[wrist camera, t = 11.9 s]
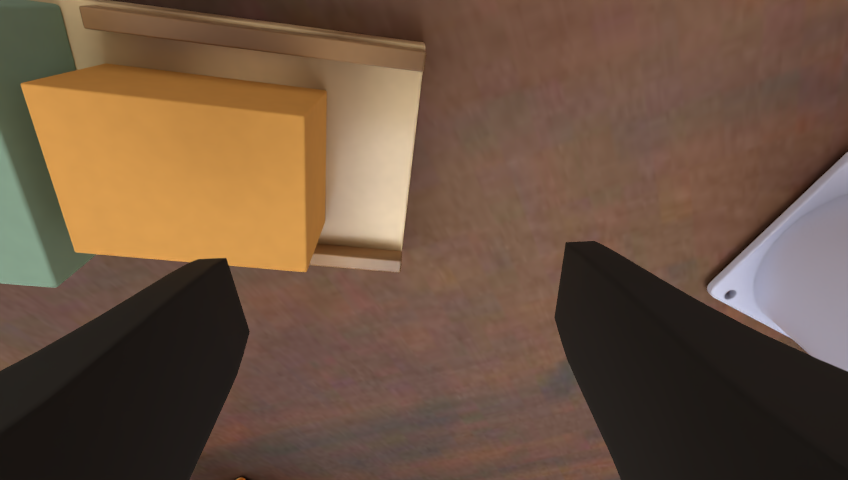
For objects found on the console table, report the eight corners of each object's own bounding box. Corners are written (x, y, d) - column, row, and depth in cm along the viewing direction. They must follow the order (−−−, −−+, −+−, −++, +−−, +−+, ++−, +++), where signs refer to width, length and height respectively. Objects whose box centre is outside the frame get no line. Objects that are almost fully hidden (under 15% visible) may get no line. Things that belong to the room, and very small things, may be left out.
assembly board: (424, 42, 15) (426, 48, 13) (400, 252, 19) (399, 275, 17) (-128, -32, 13) (-200, -36, 12) (-21, 213, 17) (-64, 235, 16)
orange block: (327, 90, 14) (304, 116, 11) (325, 222, 17) (306, 273, 14) (105, 62, 14) (18, 82, 11) (137, 204, 16) (74, 253, 13)
